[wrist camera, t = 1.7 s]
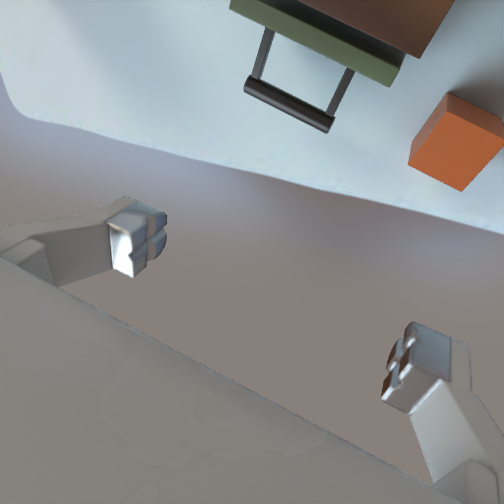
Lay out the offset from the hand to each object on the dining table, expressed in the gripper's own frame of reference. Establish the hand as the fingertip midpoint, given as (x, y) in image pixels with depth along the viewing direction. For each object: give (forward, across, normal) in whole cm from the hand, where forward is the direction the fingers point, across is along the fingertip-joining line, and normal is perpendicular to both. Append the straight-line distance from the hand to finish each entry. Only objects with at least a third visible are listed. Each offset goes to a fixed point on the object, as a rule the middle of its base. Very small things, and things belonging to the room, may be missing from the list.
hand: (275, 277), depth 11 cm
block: (+24, -6, 0) cm, 25 cm away
